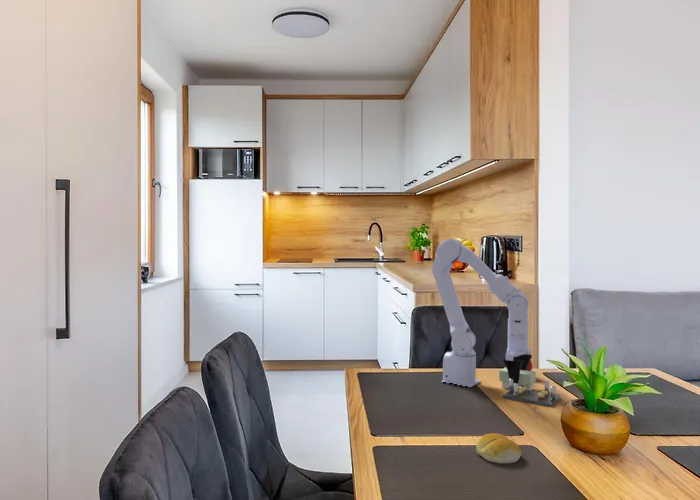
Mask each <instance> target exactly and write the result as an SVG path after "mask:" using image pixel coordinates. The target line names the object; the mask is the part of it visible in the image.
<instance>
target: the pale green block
mask: <svg viewBox="0 0 700 500" xmlns="http://www.w3.org/2000/svg"><path fill="white" fill-rule="evenodd" d="M536 375H537V374H536V371H533V370H531V371H527V370H520V376H519V381H518V383H517V384H522V385H528V386H531V385H532V384H533V385H534V384H535V383H536V382H537V380H536V379H537V377H536ZM498 377H499V382H502V381H505V382H509V374H508V370H507V368H506V366H504V368H501V369H499V376H498Z"/></svg>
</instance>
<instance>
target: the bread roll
mask: <svg viewBox="0 0 700 500" xmlns="http://www.w3.org/2000/svg"><path fill="white" fill-rule="evenodd" d="M475 447H476V449H475V450H476V453H477V454H478V455H479V456H480V457H482V458H483V459H484V460H485V461H488V462H492V463H494V464H495V463H496V464H513V463H517V462H518V461H519V459H520V457H521V455H522V449H521V447H520V446H519V445H518V443H516V442H514V440H512V439H509V438H508V437H507V436H506V435H504V434H501V433H495V432H494V433H492V432H491V433H487V434H484V435H482V436H481V437H479V439H478V441H477V443H476V446H475Z"/></svg>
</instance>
